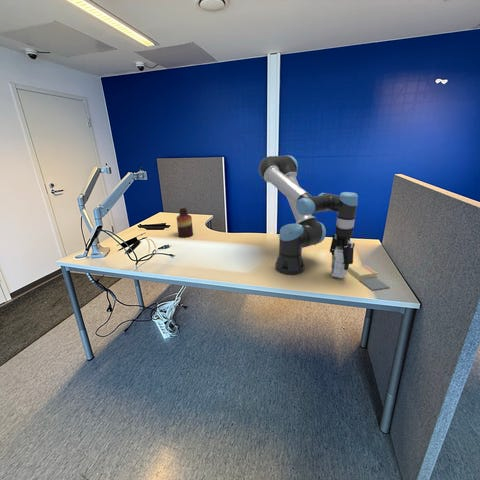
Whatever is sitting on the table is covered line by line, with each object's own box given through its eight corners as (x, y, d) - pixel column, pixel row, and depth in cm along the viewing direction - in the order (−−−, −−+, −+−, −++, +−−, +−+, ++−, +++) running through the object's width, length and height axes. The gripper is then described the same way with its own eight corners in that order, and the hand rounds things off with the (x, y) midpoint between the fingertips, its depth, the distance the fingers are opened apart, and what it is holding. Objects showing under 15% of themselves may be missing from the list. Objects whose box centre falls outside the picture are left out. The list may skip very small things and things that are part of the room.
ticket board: (358, 280, 123) (359, 275, 122) (347, 271, 131) (348, 267, 130) (376, 277, 125) (377, 272, 124) (364, 269, 133) (365, 264, 132)
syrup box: (333, 271, 129) (336, 244, 124) (345, 273, 127) (349, 246, 121) (330, 276, 125) (334, 248, 119) (343, 279, 122) (347, 251, 117)
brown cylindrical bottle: (181, 238, 184) (178, 211, 177) (176, 234, 193) (173, 208, 186) (195, 236, 189) (192, 209, 182) (190, 232, 198) (187, 206, 191)
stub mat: (372, 290, 114) (372, 289, 114) (359, 281, 122) (359, 280, 122) (389, 288, 116) (389, 286, 115) (375, 278, 124) (375, 277, 124)
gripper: (367, 233, 108) (359, 280, 116) (338, 220, 127) (333, 261, 135) (351, 234, 106) (344, 282, 115) (325, 221, 125) (320, 263, 133)
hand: (338, 271), depth 125 cm, fingers closed on syrup box, 8 cm apart
